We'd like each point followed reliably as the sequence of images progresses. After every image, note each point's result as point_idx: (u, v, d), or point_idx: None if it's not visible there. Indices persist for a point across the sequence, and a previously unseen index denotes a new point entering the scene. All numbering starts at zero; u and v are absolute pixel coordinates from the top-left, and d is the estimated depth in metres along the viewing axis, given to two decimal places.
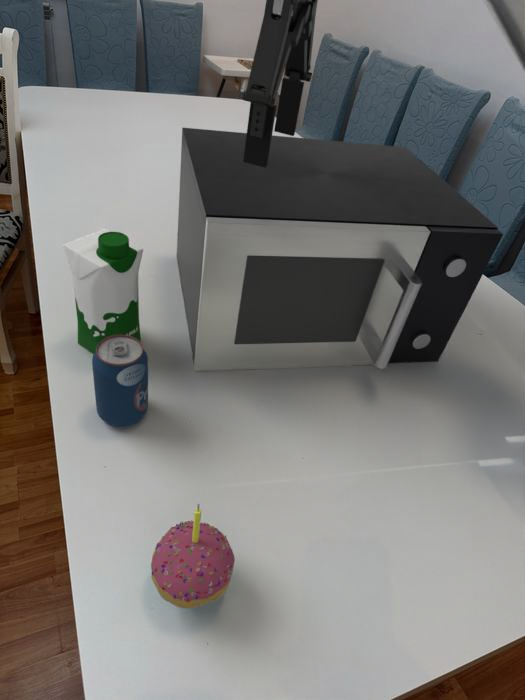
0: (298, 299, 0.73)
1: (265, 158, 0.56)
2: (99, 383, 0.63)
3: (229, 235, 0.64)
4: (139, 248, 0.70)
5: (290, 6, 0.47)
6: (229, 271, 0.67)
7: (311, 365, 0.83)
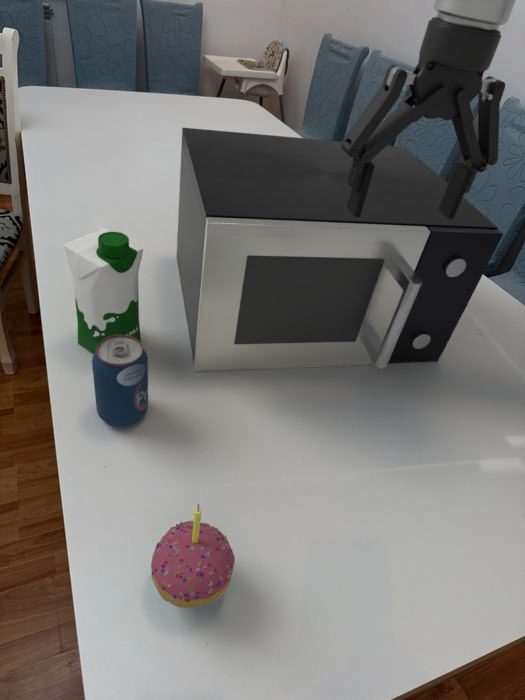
0: (298, 299, 0.73)
1: (356, 208, 0.61)
2: (99, 383, 0.63)
3: (229, 235, 0.64)
4: (139, 248, 0.70)
5: (396, 81, 0.52)
6: (229, 271, 0.67)
7: (311, 365, 0.83)
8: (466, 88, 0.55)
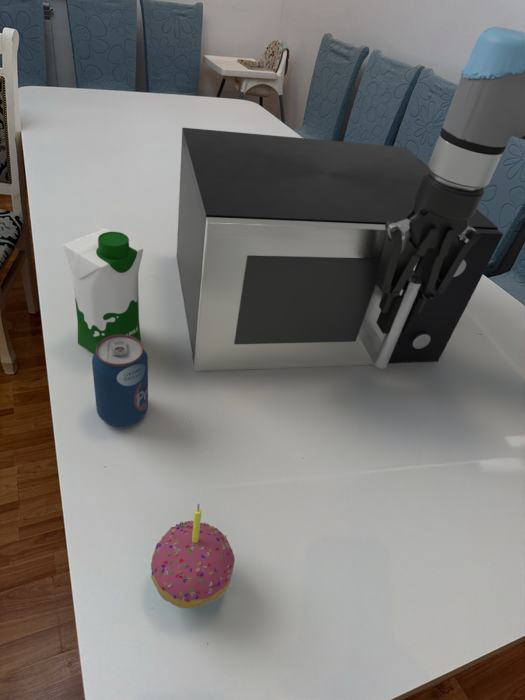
0: (298, 299, 0.73)
1: (384, 327, 0.74)
2: (99, 383, 0.63)
3: (229, 235, 0.64)
4: (139, 248, 0.70)
5: (394, 237, 0.63)
6: (229, 271, 0.67)
7: (311, 365, 0.83)
8: (454, 227, 0.64)
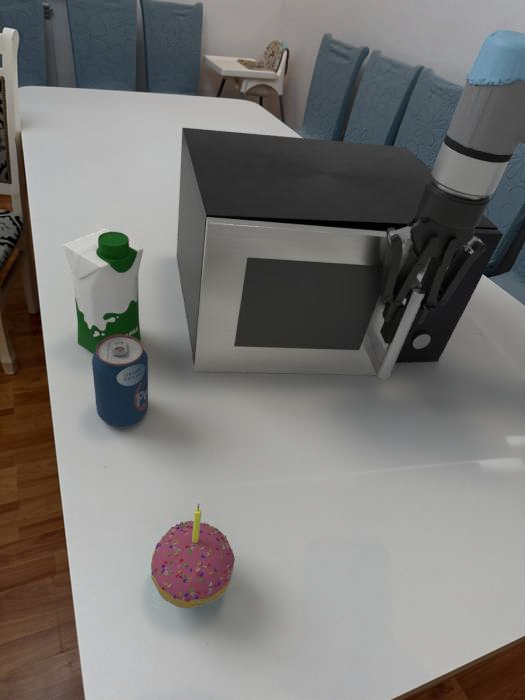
0: (300, 303, 0.72)
1: (387, 337, 0.72)
2: (99, 383, 0.63)
3: (229, 236, 0.63)
4: (139, 248, 0.70)
5: (394, 245, 0.62)
6: (229, 272, 0.67)
7: (313, 372, 0.82)
8: (458, 236, 0.62)
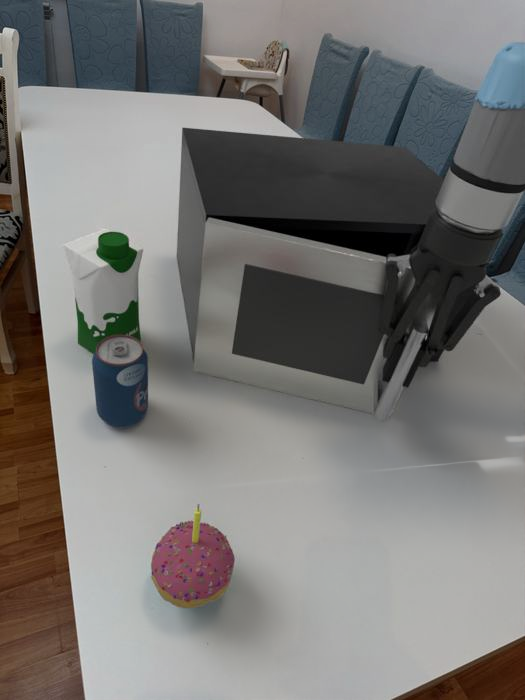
0: (299, 321, 0.69)
1: (384, 374, 0.65)
2: (99, 383, 0.63)
3: (226, 239, 0.63)
4: (139, 248, 0.70)
5: (388, 272, 0.56)
6: (226, 276, 0.66)
7: (314, 398, 0.77)
8: (465, 274, 0.55)
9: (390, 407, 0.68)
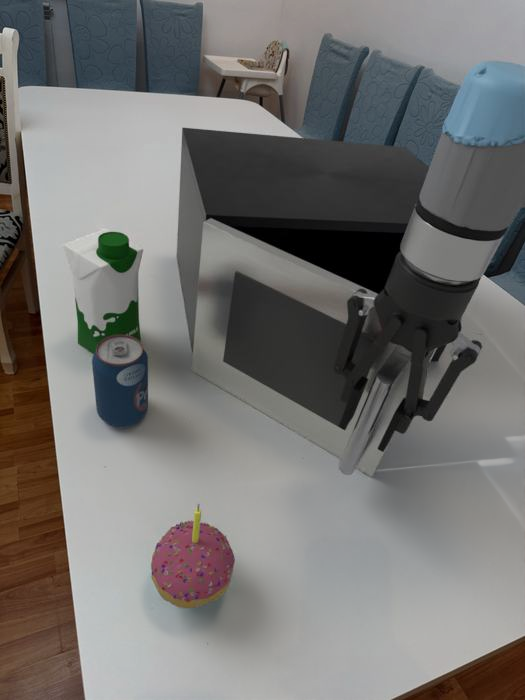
0: (282, 343, 0.64)
1: (341, 420, 0.58)
2: (99, 383, 0.63)
3: (220, 242, 0.62)
4: (139, 248, 0.70)
5: (349, 307, 0.50)
6: (220, 280, 0.65)
7: (296, 430, 0.72)
8: (433, 330, 0.46)
9: (353, 461, 0.60)
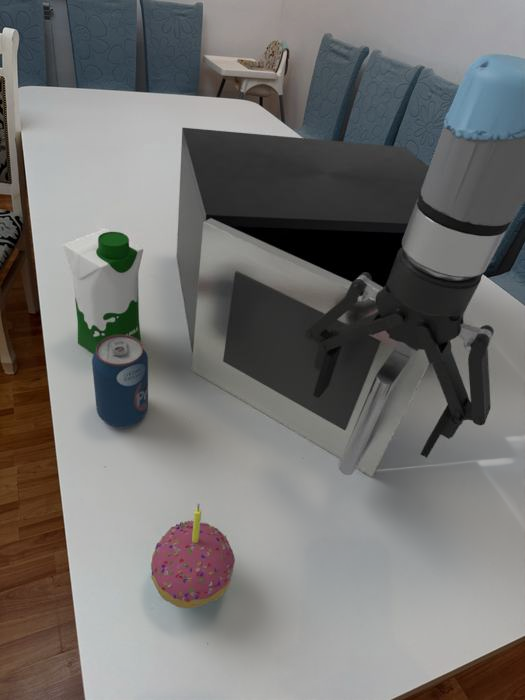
0: (282, 343, 0.64)
1: (315, 388, 0.58)
2: (99, 383, 0.63)
3: (220, 242, 0.62)
4: (139, 248, 0.70)
5: (351, 289, 0.49)
6: (220, 280, 0.65)
7: (296, 430, 0.72)
8: (435, 326, 0.46)
9: (353, 461, 0.60)
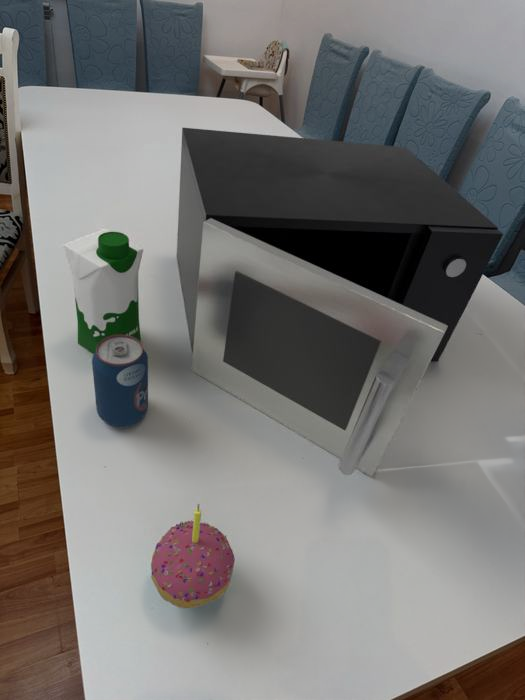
0: (282, 343, 0.64)
1: None
2: (99, 383, 0.63)
3: (220, 242, 0.62)
4: (139, 248, 0.70)
5: None
6: (220, 280, 0.65)
7: (296, 430, 0.72)
8: None
9: (353, 461, 0.60)
